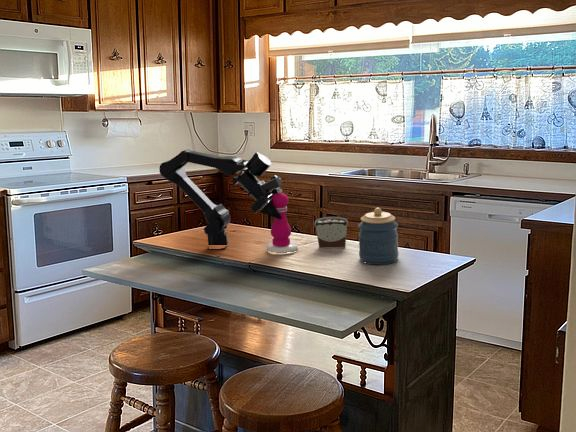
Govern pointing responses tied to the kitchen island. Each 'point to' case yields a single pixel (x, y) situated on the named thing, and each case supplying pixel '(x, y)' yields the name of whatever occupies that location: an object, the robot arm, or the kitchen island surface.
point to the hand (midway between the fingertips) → (283, 216)
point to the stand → (283, 248)
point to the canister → (378, 238)
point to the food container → (331, 232)
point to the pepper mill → (280, 227)
